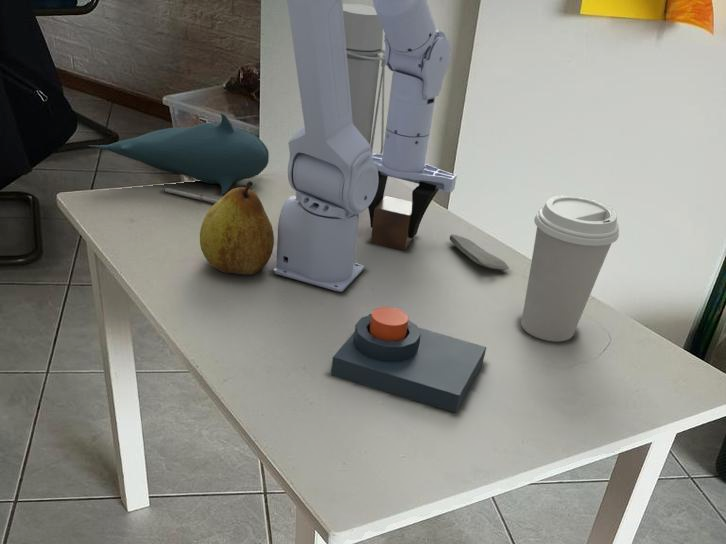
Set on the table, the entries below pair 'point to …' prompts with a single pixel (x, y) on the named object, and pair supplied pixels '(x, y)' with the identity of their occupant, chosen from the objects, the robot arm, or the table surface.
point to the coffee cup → (566, 263)
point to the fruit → (237, 233)
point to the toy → (199, 152)
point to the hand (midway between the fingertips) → (393, 230)
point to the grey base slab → (411, 364)
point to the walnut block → (392, 223)
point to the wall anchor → (191, 195)
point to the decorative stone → (478, 253)
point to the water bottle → (364, 66)
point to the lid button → (389, 324)
